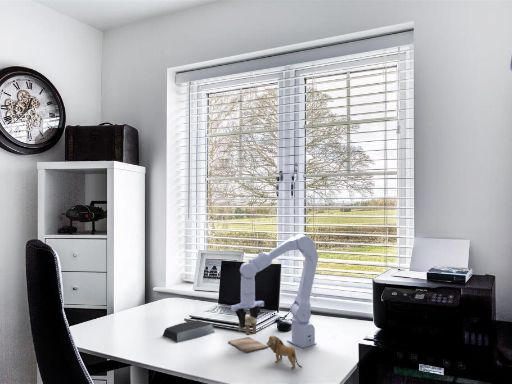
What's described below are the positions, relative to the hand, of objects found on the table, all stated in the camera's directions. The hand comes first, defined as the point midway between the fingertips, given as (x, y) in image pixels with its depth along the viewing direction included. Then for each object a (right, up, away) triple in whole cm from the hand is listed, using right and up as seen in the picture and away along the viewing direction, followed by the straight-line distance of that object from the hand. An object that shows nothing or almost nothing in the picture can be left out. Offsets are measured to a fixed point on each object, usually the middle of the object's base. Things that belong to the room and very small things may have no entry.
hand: (247, 326), depth 174 cm
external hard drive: (-26, -8, +14) cm, 30 cm away
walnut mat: (0, -8, 0) cm, 8 cm away
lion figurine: (+13, -8, -19) cm, 24 cm away
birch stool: (0, -2, 0) cm, 2 cm away
